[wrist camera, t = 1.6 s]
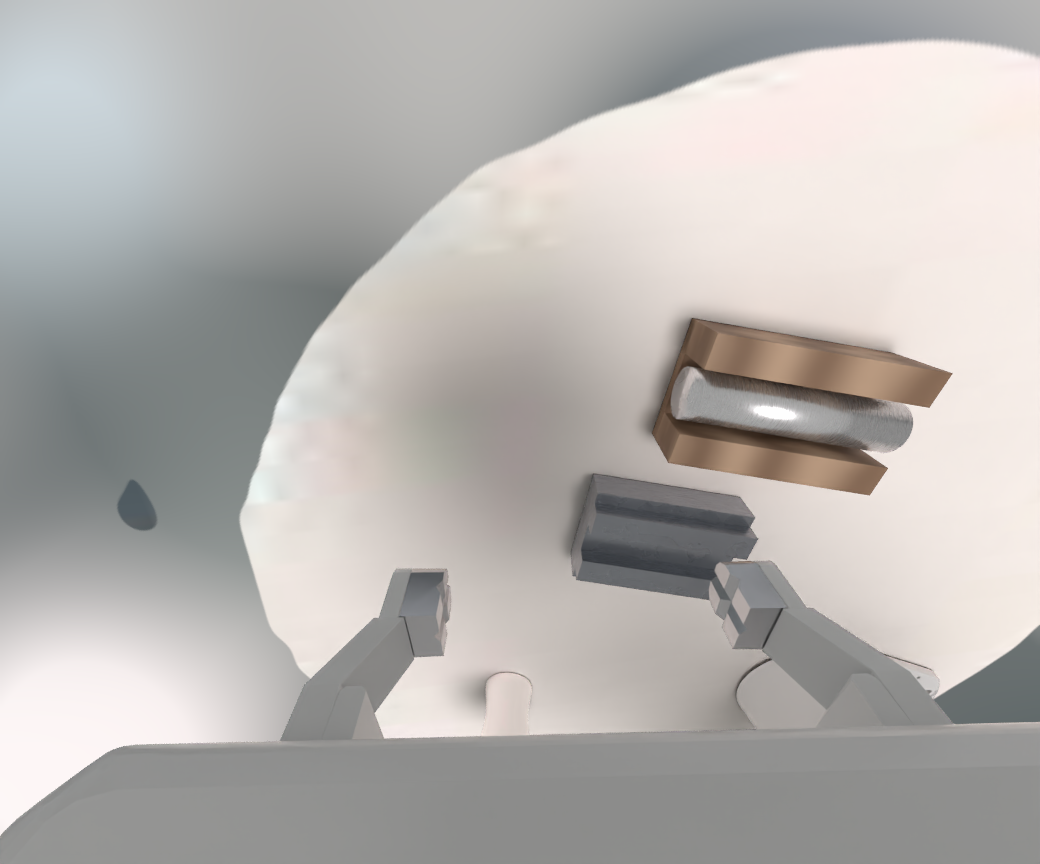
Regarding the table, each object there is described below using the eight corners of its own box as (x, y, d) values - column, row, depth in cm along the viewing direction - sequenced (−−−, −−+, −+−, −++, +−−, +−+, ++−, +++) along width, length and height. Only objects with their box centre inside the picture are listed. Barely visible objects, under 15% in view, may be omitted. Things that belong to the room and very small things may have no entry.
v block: (739, 496, 38) (763, 528, 34) (701, 573, 42) (718, 609, 38) (593, 473, 37) (600, 503, 33) (570, 553, 42) (573, 588, 38)
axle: (880, 393, 31) (924, 414, 28) (853, 437, 33) (891, 462, 30) (682, 359, 31) (701, 376, 27) (666, 406, 33) (681, 428, 29)
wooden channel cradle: (892, 353, 31) (952, 373, 26) (828, 462, 35) (869, 495, 31) (692, 318, 30) (718, 333, 26) (652, 433, 35) (668, 462, 30)
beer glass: (471, 685, 53) (448, 840, 39) (506, 662, 50) (494, 819, 37) (511, 708, 55) (501, 863, 41) (546, 686, 52) (548, 844, 39)
